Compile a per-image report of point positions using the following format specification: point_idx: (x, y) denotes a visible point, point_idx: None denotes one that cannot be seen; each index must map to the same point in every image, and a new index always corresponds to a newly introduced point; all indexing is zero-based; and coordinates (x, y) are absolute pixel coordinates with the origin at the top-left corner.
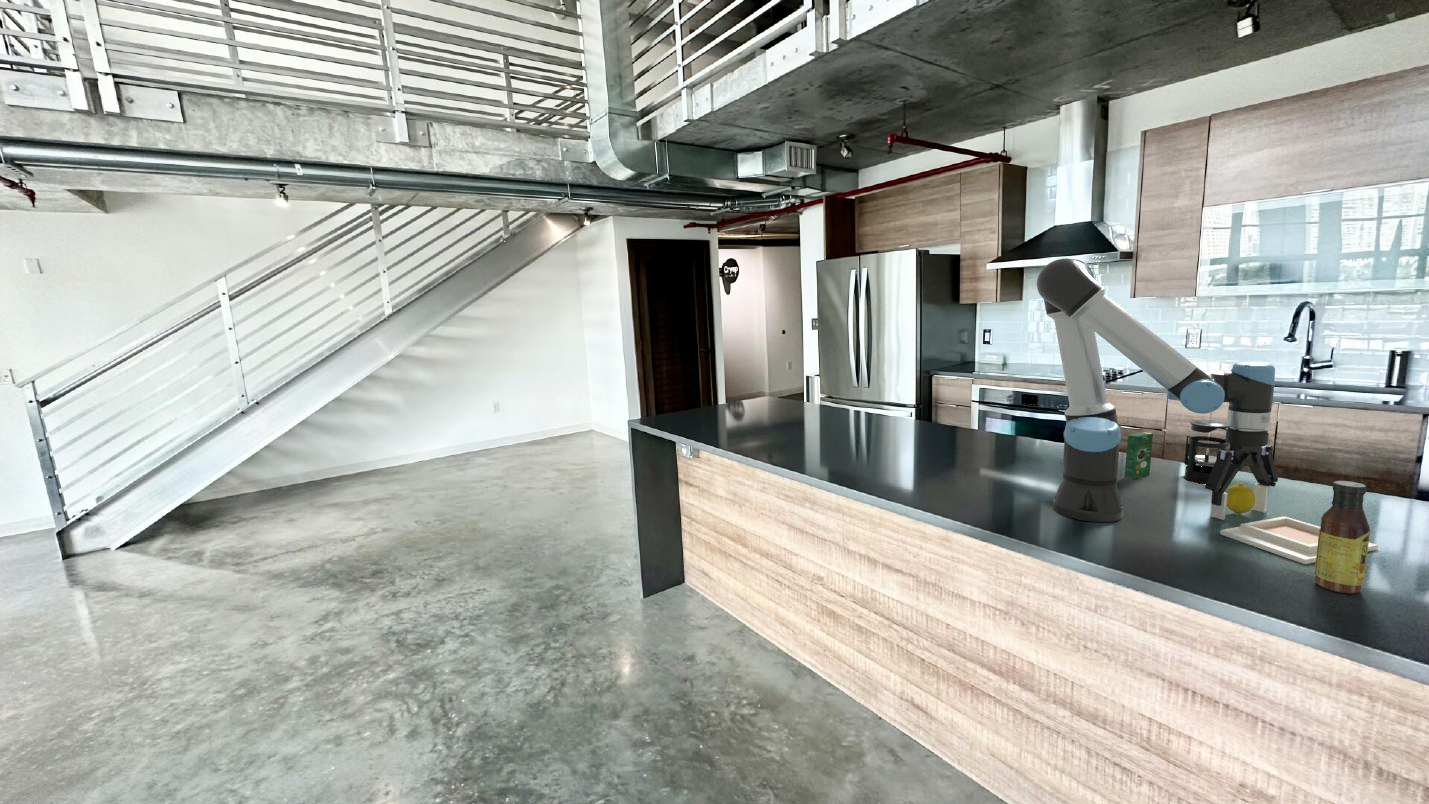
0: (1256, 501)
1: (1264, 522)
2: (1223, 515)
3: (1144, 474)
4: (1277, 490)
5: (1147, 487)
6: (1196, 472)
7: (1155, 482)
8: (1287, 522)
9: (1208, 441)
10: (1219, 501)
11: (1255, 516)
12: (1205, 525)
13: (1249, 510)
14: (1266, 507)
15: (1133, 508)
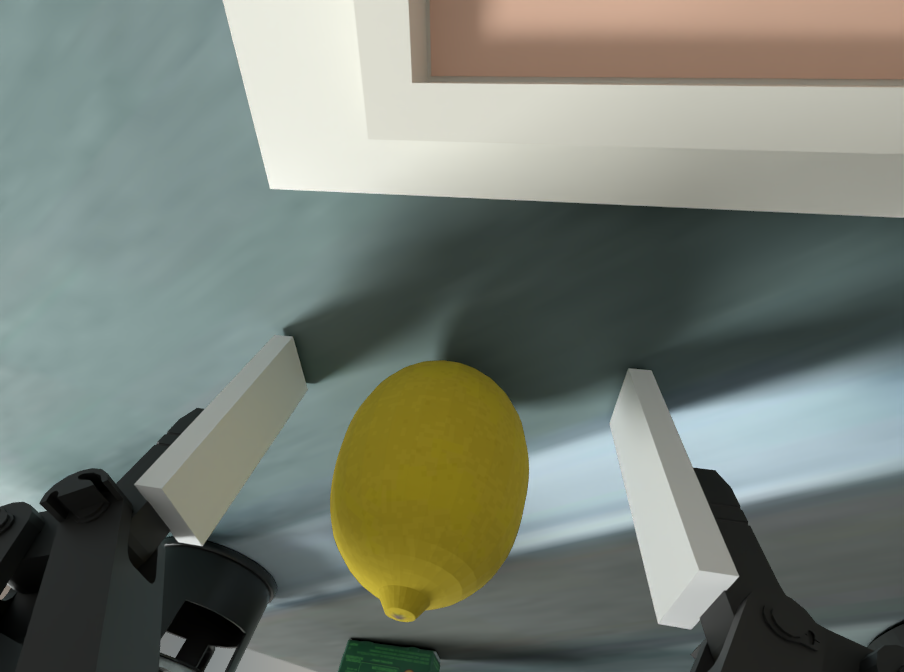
0: (273, 412)
1: (772, 88)
2: (654, 390)
3: (373, 652)
4: (20, 445)
5: (463, 620)
6: (242, 625)
7: (389, 620)
8: (420, 64)
9: None
10: (714, 504)
11: (385, 325)
12: (866, 365)
13: (441, 360)
14: (257, 353)
15: (808, 593)
